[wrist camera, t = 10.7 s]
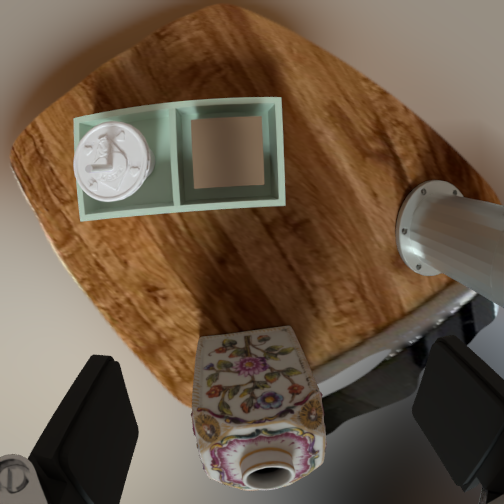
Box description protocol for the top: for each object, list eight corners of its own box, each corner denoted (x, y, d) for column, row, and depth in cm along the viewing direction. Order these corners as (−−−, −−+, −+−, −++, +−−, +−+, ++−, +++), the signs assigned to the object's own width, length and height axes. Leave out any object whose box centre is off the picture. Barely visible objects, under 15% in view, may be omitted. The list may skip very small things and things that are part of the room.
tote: (272, 106, 31) (281, 97, 27) (276, 200, 34) (285, 205, 29) (92, 123, 30) (73, 118, 25) (98, 213, 32) (80, 221, 28)
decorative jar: (292, 322, 38) (340, 425, 21) (295, 393, 41) (330, 495, 24) (194, 334, 37) (183, 448, 20) (210, 404, 40) (211, 512, 23)
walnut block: (254, 125, 31) (261, 116, 25) (256, 181, 33) (264, 184, 27) (195, 128, 31) (190, 119, 25) (198, 185, 32) (194, 188, 27)
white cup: (120, 200, 32) (60, 223, 18) (104, 144, 30) (37, 134, 17) (175, 181, 32) (145, 191, 18) (159, 124, 30) (119, 96, 17)
